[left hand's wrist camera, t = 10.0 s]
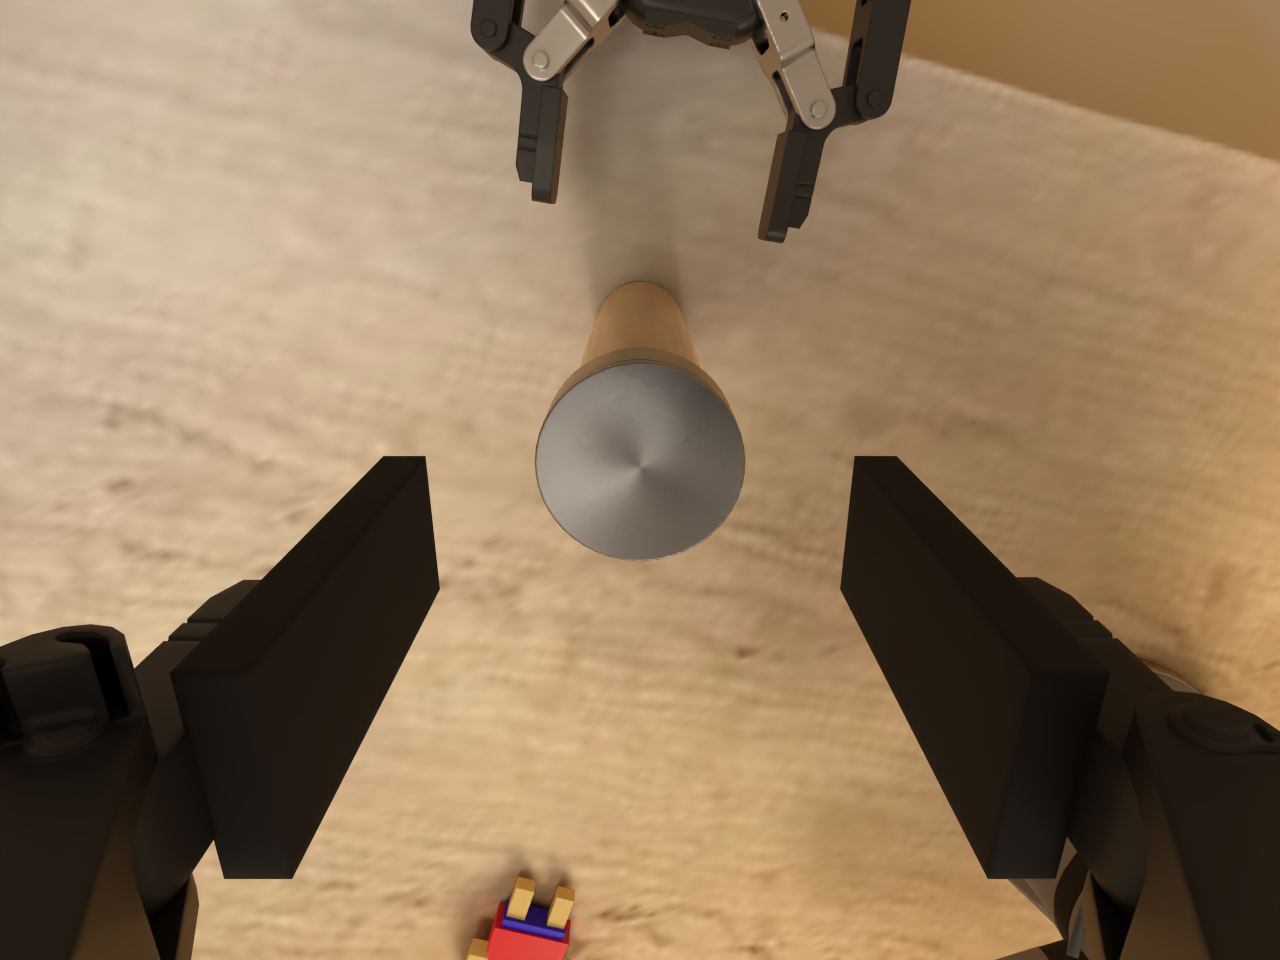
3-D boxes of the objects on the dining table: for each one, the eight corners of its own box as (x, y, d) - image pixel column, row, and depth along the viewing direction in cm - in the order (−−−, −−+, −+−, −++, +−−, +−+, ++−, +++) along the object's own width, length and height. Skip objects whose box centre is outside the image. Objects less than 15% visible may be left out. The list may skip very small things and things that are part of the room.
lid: (696, 551, 20) (702, 585, 18) (522, 497, 19) (510, 527, 17) (764, 383, 18) (777, 402, 16) (576, 319, 17) (569, 332, 16)
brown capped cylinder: (666, 379, 36) (692, 560, 18) (586, 352, 36) (531, 511, 18) (695, 298, 35) (754, 407, 17) (612, 269, 34) (581, 349, 16)
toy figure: (490, 892, 45) (443, 1032, 48) (598, 917, 46) (545, 1053, 49) (496, 860, 48) (452, 995, 51) (599, 884, 48) (549, 1016, 52)
